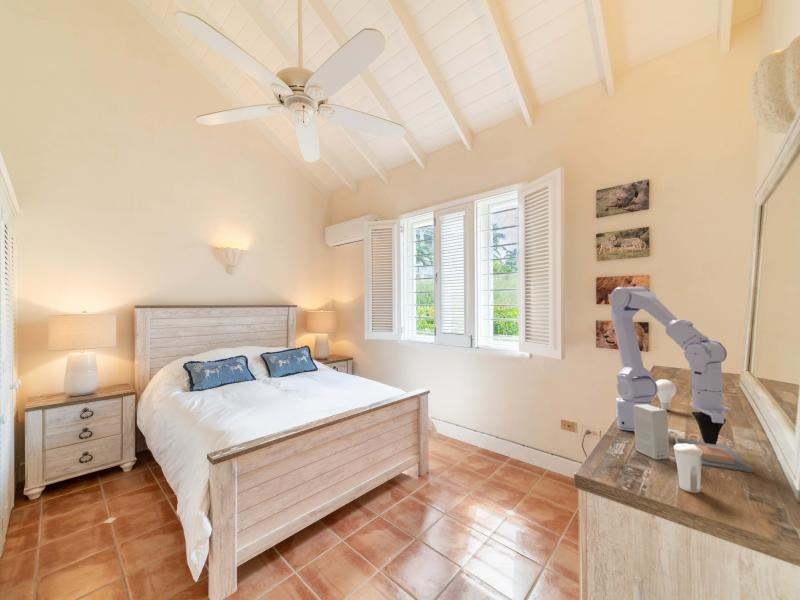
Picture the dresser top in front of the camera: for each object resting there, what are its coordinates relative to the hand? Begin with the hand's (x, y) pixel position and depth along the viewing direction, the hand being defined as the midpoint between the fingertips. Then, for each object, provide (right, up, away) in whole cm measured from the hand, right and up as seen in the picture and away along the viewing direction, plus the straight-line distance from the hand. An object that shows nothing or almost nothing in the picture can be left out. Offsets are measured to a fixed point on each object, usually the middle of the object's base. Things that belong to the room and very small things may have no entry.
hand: (709, 443), depth 84 cm
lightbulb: (+17, -4, +36) cm, 40 cm away
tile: (0, -2, +1) cm, 2 cm away
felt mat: (0, -3, 0) cm, 3 cm away
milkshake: (-18, -3, -14) cm, 23 cm away
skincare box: (-14, -4, +1) cm, 14 cm away
